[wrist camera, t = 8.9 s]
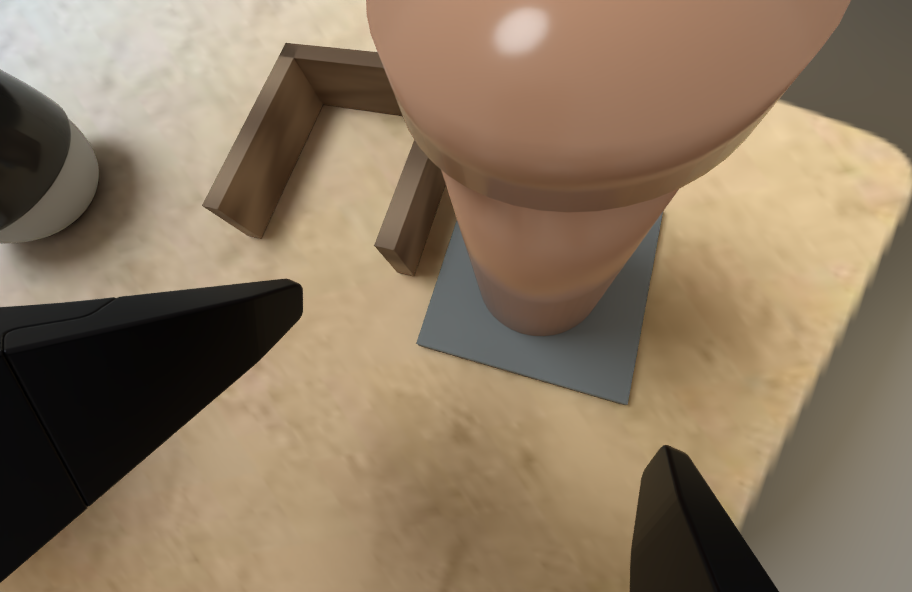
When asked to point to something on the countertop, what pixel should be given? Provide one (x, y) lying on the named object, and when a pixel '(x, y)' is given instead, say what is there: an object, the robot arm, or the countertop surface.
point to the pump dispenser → (40, 165)
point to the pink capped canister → (581, 123)
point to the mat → (545, 357)
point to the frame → (286, 130)
